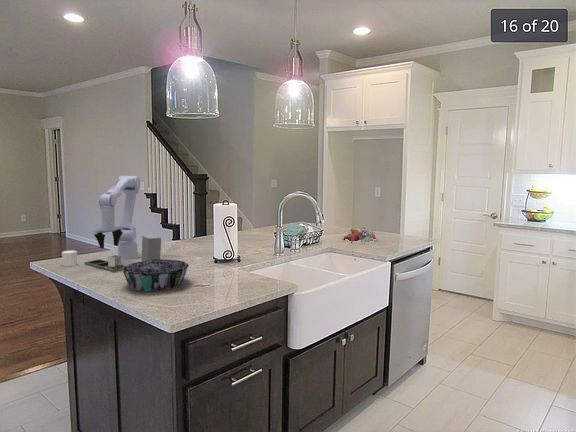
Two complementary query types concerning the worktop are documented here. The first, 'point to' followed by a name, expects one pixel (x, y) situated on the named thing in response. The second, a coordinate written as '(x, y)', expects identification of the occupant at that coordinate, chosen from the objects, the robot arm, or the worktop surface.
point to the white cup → (69, 258)
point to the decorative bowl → (155, 274)
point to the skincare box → (151, 247)
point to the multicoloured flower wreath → (360, 235)
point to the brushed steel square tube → (114, 262)
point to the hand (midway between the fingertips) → (109, 246)
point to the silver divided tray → (102, 265)
